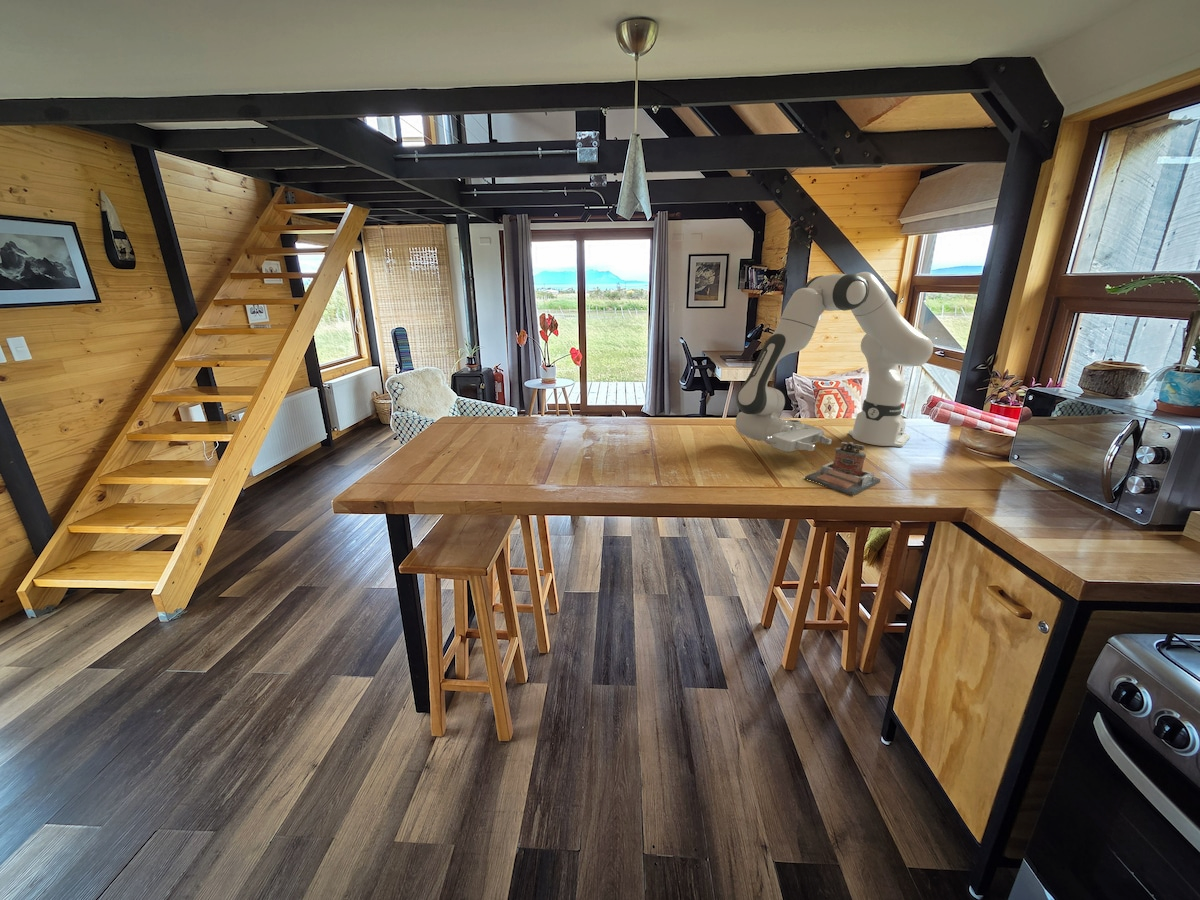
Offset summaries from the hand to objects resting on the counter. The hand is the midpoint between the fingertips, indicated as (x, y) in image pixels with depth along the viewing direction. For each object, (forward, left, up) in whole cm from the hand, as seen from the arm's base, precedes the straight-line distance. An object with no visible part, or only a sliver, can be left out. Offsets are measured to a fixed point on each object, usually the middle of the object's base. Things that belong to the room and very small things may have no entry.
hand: (822, 445), depth 145 cm
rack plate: (+2, +9, -8) cm, 12 cm away
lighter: (0, +8, -7) cm, 11 cm away
